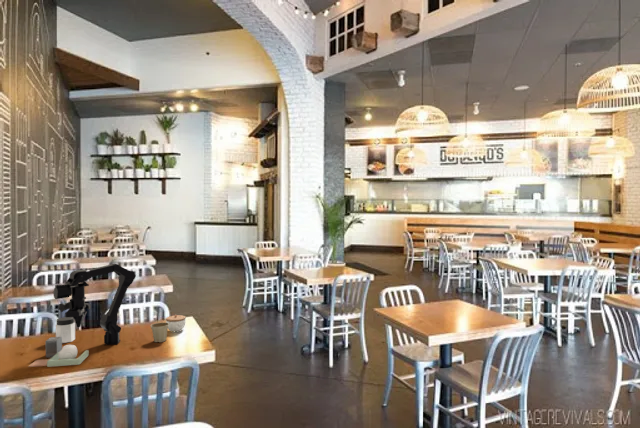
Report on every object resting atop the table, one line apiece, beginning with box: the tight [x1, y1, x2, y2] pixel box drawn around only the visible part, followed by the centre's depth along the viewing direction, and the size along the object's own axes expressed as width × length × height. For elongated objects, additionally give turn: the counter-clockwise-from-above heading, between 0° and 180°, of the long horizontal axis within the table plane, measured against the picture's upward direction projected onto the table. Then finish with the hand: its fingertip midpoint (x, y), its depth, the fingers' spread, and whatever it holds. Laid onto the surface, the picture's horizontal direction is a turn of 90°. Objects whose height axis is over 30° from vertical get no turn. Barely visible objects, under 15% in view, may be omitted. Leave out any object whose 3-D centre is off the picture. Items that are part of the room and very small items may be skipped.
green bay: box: [47, 349, 90, 368], centre depth 207 cm, size 13×13×2 cm
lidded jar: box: [165, 314, 186, 333], centre depth 256 cm, size 11×11×9 cm
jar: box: [55, 316, 76, 344], centre depth 238 cm, size 9×8×12 cm
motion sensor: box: [58, 344, 78, 360], centre depth 206 cm, size 8×8×8 cm
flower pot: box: [150, 322, 169, 343], centre depth 237 cm, size 9×9×9 cm
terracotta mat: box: [28, 358, 50, 368], centre depth 204 cm, size 8×8×1 cm
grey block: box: [44, 336, 63, 359], centre depth 215 cm, size 5×6×8 cm
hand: (78, 327), depth 221 cm, fingers closed
